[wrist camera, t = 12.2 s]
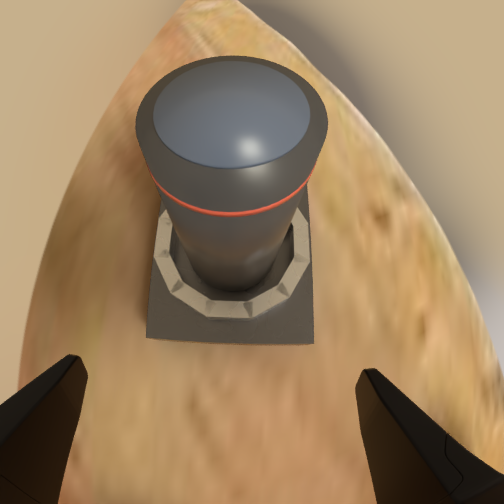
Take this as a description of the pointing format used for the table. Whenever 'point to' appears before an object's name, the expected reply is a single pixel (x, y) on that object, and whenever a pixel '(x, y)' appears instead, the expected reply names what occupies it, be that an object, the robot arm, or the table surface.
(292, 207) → the lens
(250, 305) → the camera body
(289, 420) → the table surface
